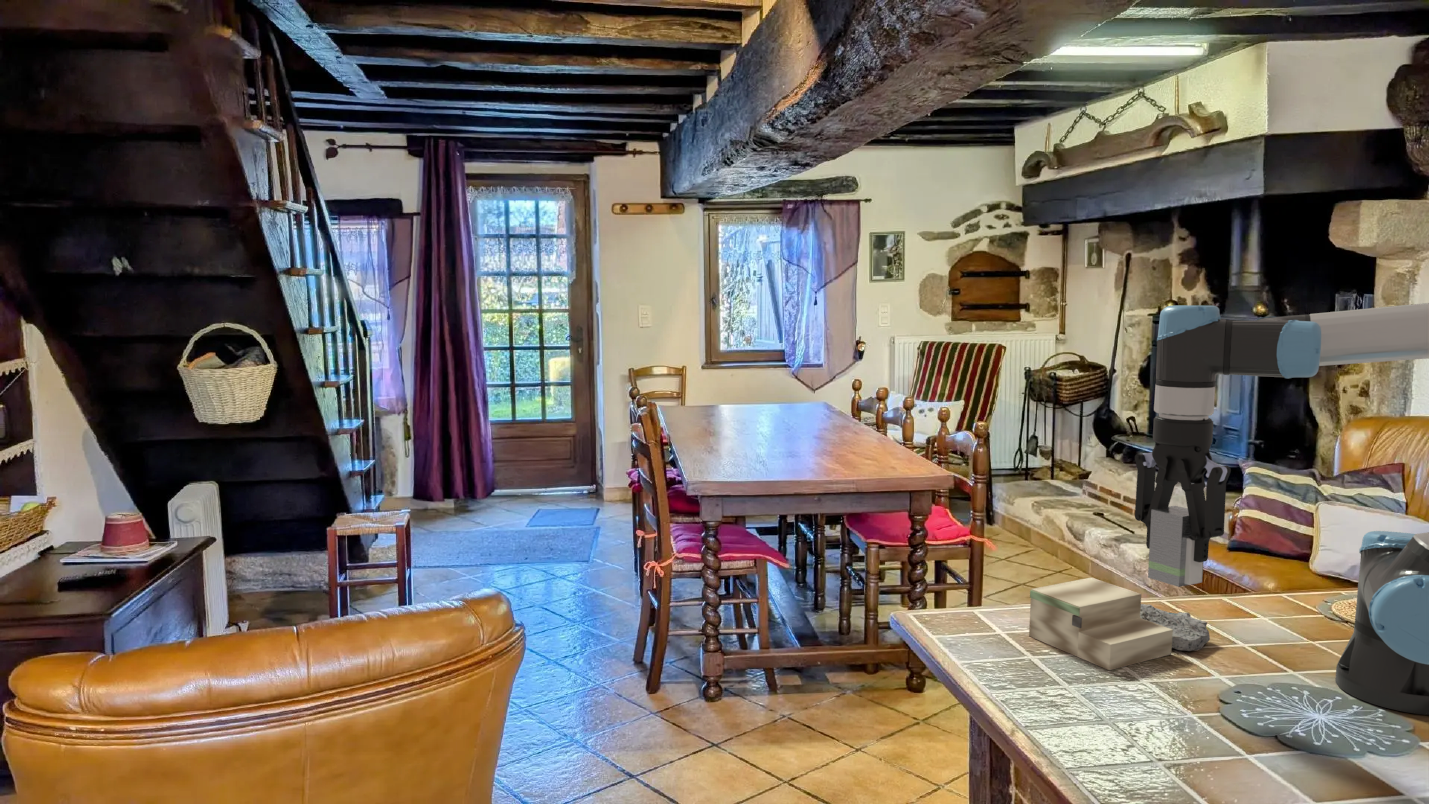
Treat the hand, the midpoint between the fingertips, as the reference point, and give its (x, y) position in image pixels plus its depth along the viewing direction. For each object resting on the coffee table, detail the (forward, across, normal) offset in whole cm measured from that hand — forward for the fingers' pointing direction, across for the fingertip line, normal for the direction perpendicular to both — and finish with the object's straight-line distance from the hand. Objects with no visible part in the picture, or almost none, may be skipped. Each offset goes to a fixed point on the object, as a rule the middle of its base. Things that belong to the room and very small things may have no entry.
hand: (1174, 577), depth 137 cm
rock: (+17, +13, -16) cm, 27 cm away
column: (0, 0, 0) cm, 0 cm away
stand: (+16, +16, -4) cm, 23 cm away
